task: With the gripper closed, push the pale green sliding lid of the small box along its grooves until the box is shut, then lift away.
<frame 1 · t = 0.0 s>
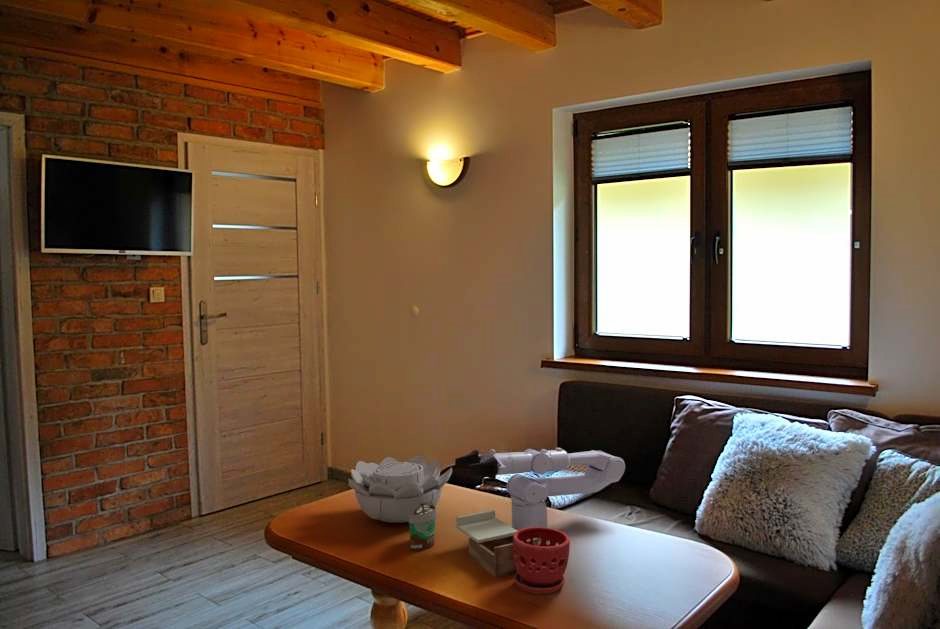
hand: (462, 466, 195), 22 cm above the table, tool horizontal, fingers open, 7 cm apart
lid: (486, 525, 193), point 7 cm above the table, slide at -8.0 cm
plant pot: (541, 586, 172), on the table
food container: (426, 545, 198), on the table
decorative bowl: (396, 518, 220), on the table
box: (503, 562, 186), on the table
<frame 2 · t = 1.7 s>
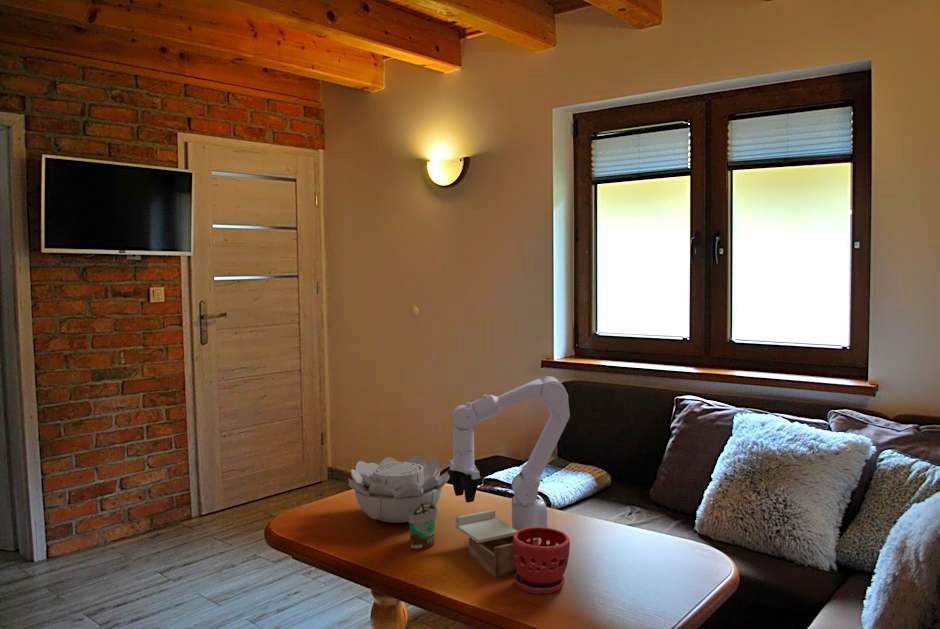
hand: (464, 498, 204), 10 cm above the table, tool pointing down, fingers open, 6 cm apart
nothing on the table moved.
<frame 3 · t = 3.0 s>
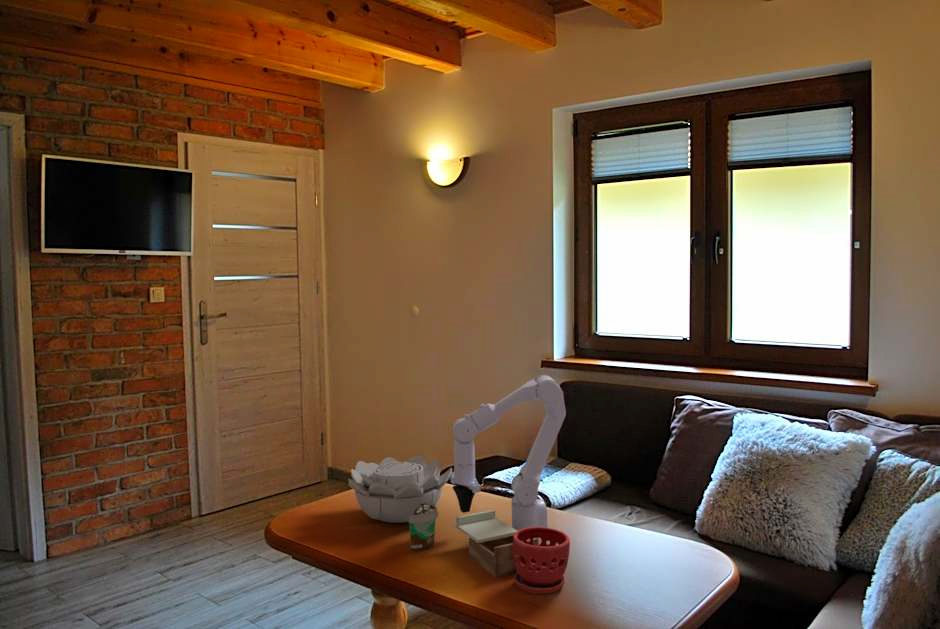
hand: (465, 511, 204), 7 cm above the table, tool pointing down, fingers closed
nothing on the table moved.
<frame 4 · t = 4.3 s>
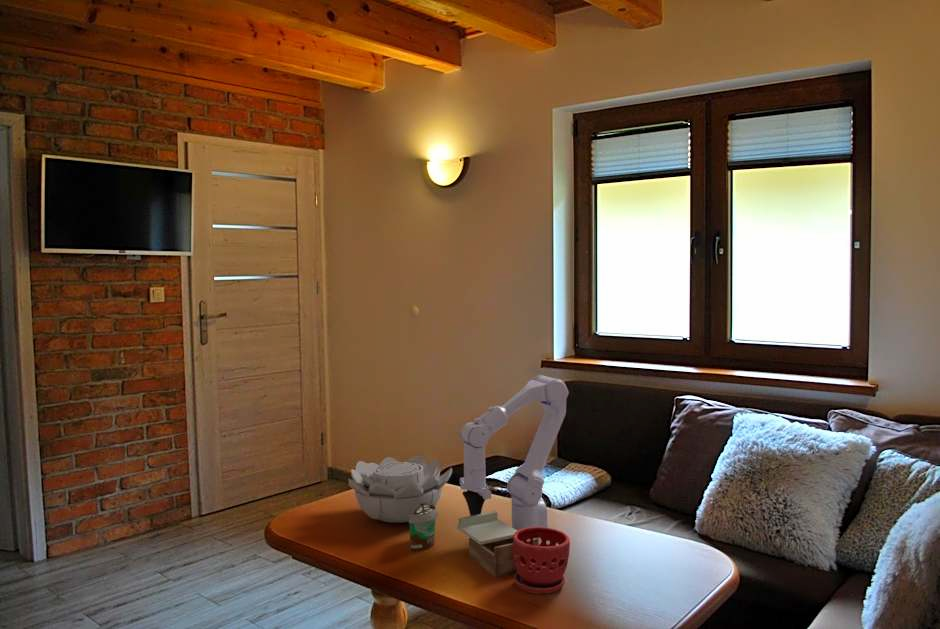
hand: (475, 518, 198), 7 cm above the table, tool pointing down, fingers closed
lid: (488, 526, 192), point 7 cm above the table, slide at -6.8 cm, touching gripper
everything else where it was.
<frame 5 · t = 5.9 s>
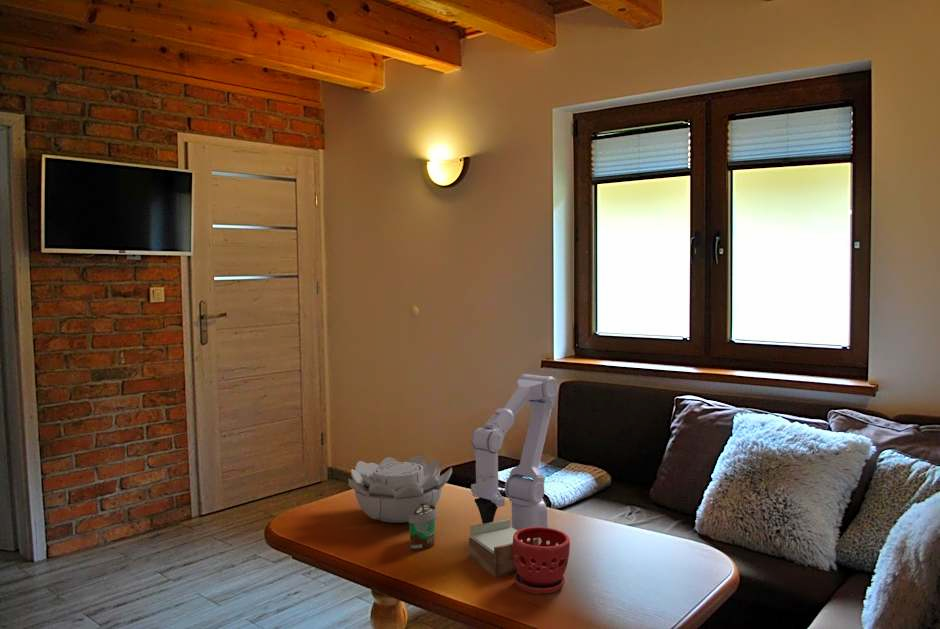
hand: (487, 526, 192), 7 cm above the table, tool pointing down, fingers closed
lid: (501, 535, 186), point 7 cm above the table, slide at 0.0 cm, touching gripper
everything else where it was.
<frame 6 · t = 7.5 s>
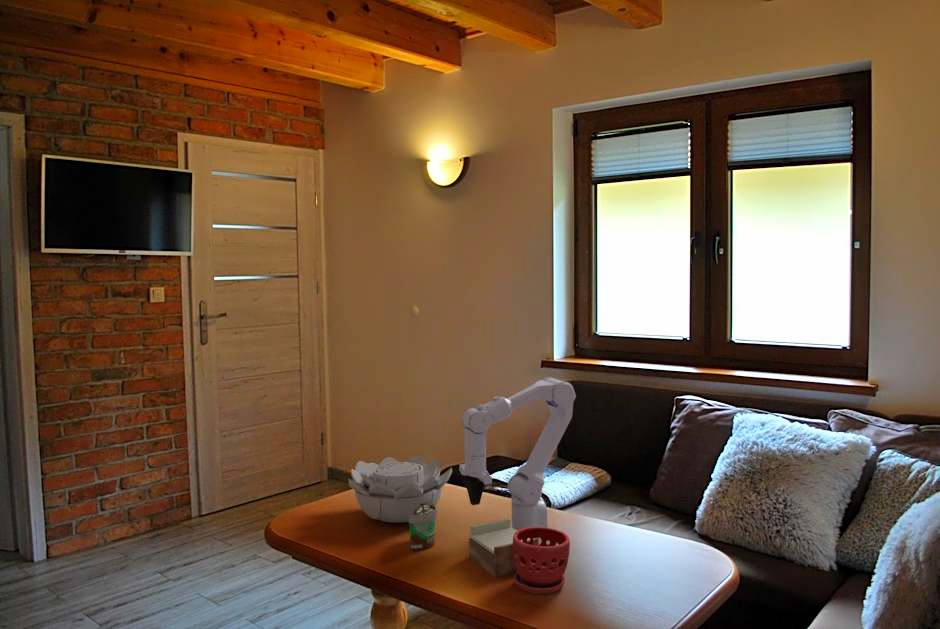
hand: (475, 504, 199), 10 cm above the table, tool pointing down, fingers closed
lid: (501, 535, 186), point 7 cm above the table, slide at 0.0 cm
everything else where it was.
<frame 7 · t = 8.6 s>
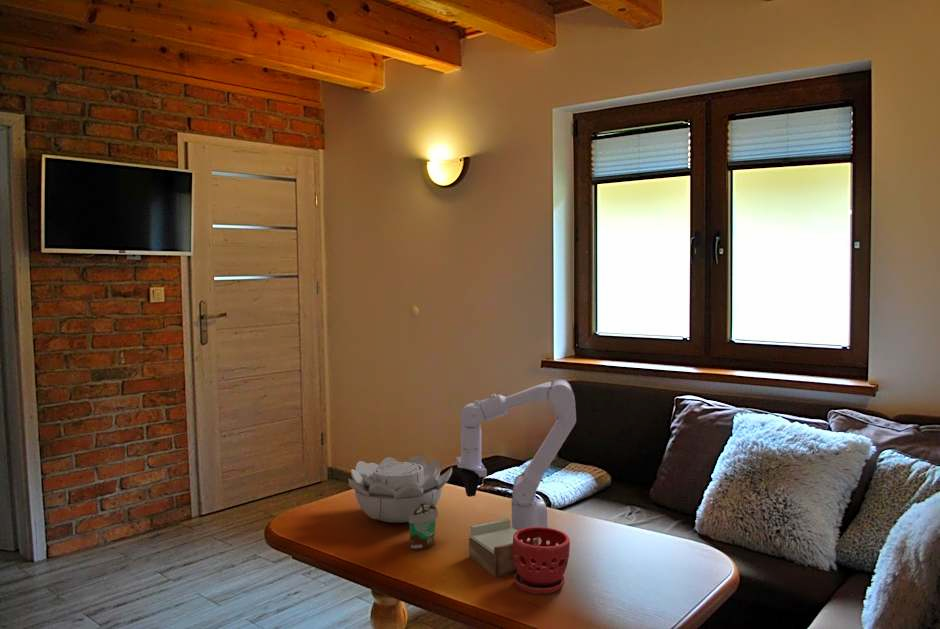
hand: (471, 495, 206), 10 cm above the table, tool pointing down, fingers closed
nothing on the table moved.
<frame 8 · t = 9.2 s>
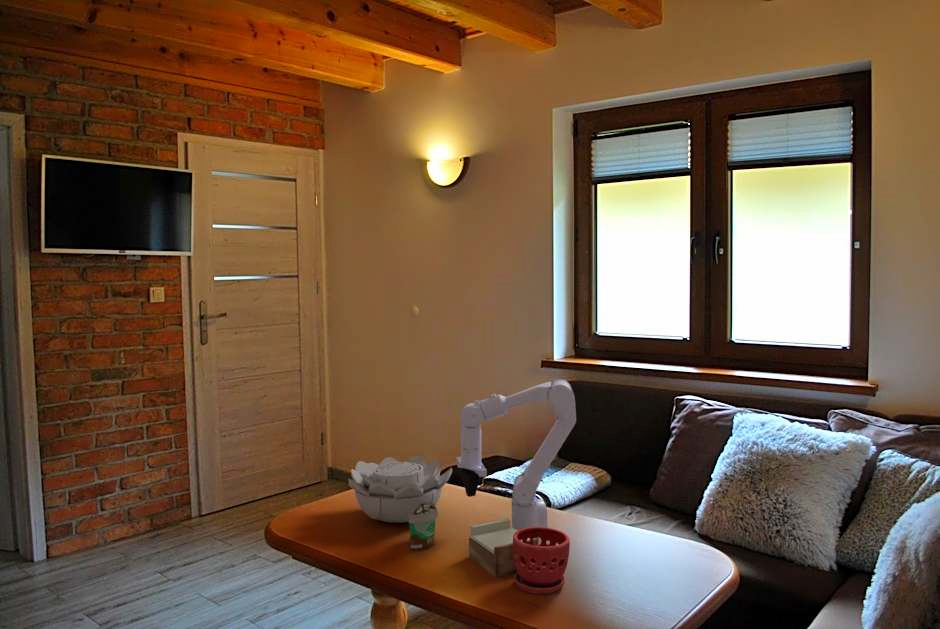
hand: (471, 495, 206), 10 cm above the table, tool pointing down, fingers closed
nothing on the table moved.
at the end: lid slide at 0.0 cm; lid touching nothing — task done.
